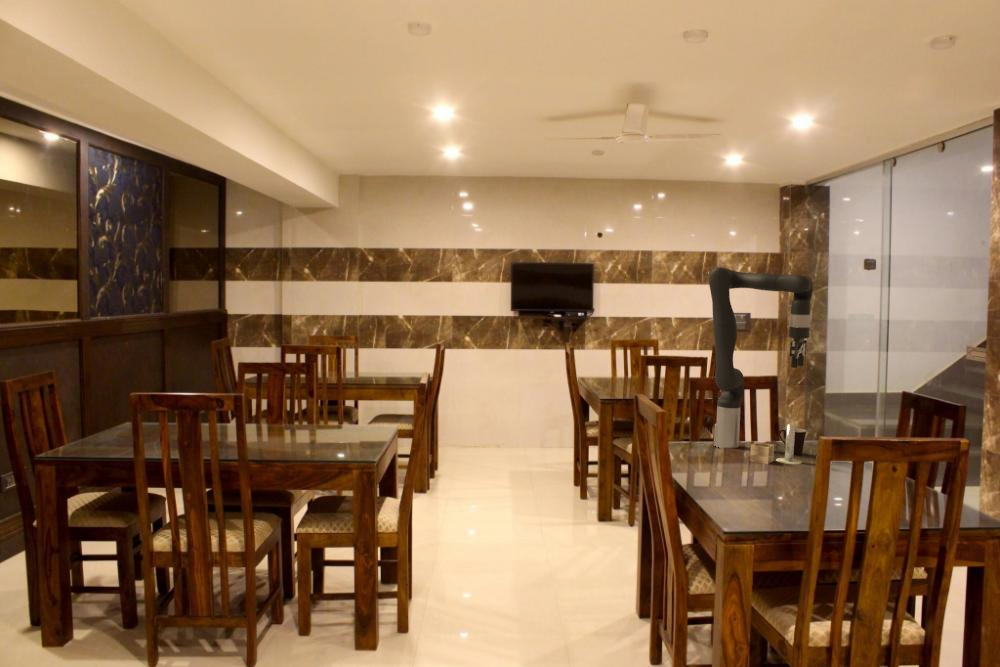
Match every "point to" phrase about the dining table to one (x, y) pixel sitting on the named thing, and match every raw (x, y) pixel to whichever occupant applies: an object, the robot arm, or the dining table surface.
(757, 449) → the holder
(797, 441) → the coffee mug
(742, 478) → the dining table surface
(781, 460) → the saucer
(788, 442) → the rod
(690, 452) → the dining table surface
